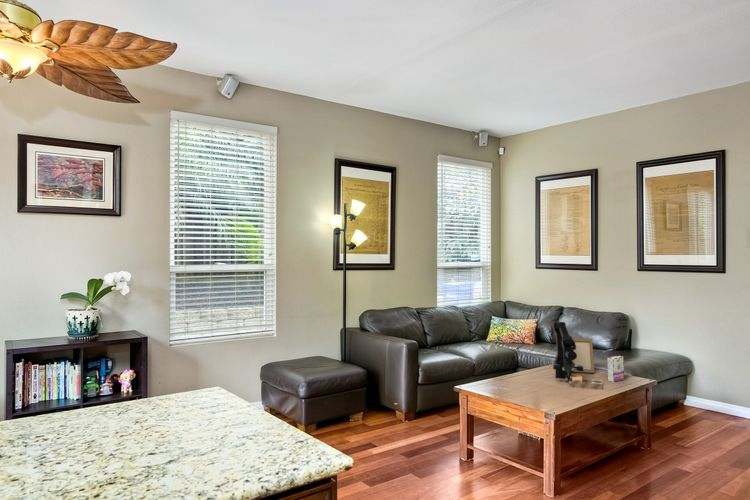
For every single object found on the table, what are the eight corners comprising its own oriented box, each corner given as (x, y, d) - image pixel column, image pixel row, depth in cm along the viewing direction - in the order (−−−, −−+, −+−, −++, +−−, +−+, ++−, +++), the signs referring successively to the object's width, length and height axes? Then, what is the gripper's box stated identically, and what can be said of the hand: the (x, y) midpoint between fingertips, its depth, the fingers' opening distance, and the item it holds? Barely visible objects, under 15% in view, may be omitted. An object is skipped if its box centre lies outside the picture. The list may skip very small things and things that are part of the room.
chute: (569, 386, 334) (568, 380, 334) (569, 383, 343) (569, 376, 343) (602, 389, 326) (601, 382, 326) (601, 385, 335) (601, 379, 335)
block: (572, 384, 335) (572, 377, 335) (572, 382, 340) (572, 375, 340) (582, 385, 332) (581, 377, 332) (582, 383, 338) (582, 375, 338)
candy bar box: (618, 378, 353) (617, 355, 353) (624, 380, 349) (624, 356, 349) (607, 380, 348) (606, 357, 348) (613, 382, 344) (613, 358, 344)
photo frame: (594, 373, 368) (593, 339, 369) (563, 372, 373) (562, 339, 374) (590, 369, 383) (589, 336, 384) (560, 368, 388) (559, 336, 389)
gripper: (552, 358, 335) (552, 381, 335) (582, 360, 328) (583, 384, 327) (553, 355, 345) (554, 378, 345) (583, 357, 338) (583, 380, 338)
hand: (568, 380), depth 339 cm, fingers closed
